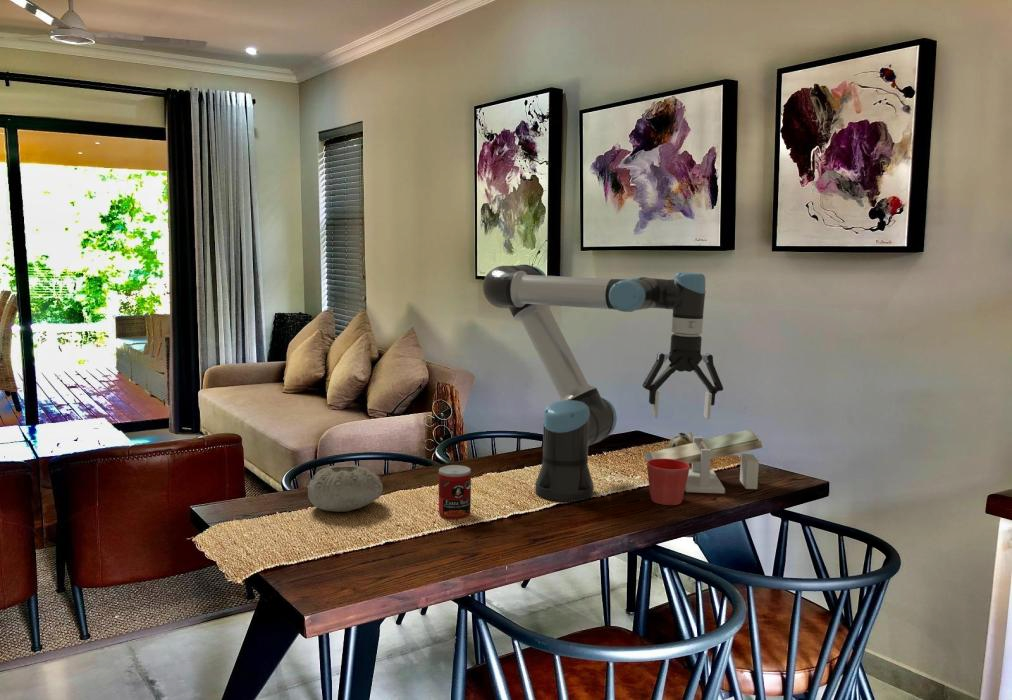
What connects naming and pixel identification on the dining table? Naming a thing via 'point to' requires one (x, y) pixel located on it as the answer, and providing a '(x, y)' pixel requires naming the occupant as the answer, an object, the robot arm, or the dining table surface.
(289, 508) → the dining table surface
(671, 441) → the ceramic sculpture
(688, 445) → the beam
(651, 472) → the flower pot
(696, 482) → the stand
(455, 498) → the canned food
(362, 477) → the decorative shell
